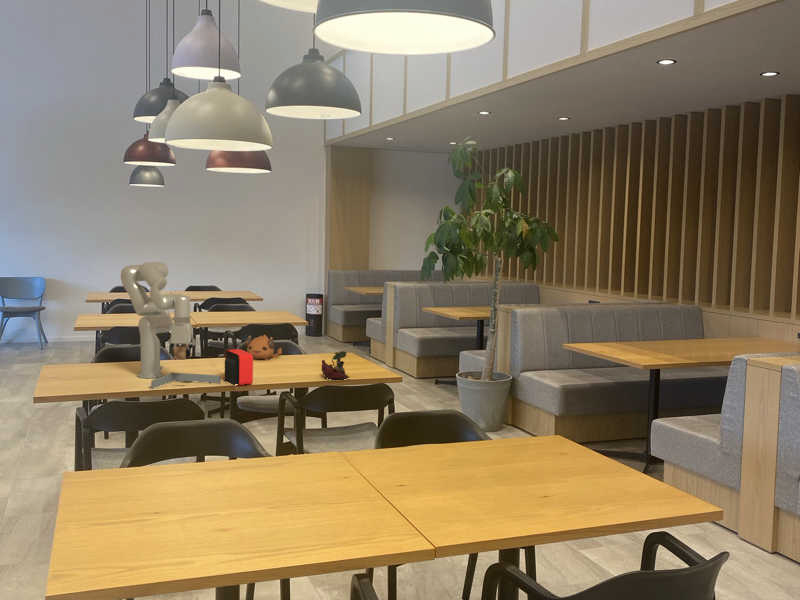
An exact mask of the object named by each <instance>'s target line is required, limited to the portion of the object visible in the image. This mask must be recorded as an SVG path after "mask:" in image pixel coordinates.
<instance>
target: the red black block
mask: <svg viewBox="0 0 800 600" xmlns="http://www.w3.org/2000/svg"><path fill="white" fill-rule="evenodd" d="M224 353H225V354H224V359H225V360H224V382H226V381H227V382H229V383H231V384H233V385H235V384H238V385H237V386H245V384H247V385H252V384H253V383H254V359H253V355H252V354H251V353H248V352H247V351H245V350H243V349H240V348H237V349H226V350H225V352H224ZM227 382H226V383H227ZM229 383H228V384H229ZM231 384H230V385H231ZM233 385H232V386H233Z"/></svg>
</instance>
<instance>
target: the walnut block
mask: <svg viewBox="0 0 800 600" xmlns="http://www.w3.org/2000/svg"><path fill="white" fill-rule="evenodd" d="M186 350H187V348H186V344H179V346H176V347H174V349H173V360H182V361H183V360H187V359H190V358H191V357H192V348H191V349H190V357H188V358H186Z"/></svg>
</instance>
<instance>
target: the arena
mask: <svg viewBox="0 0 800 600" xmlns="http://www.w3.org/2000/svg"><path fill="white" fill-rule="evenodd" d="M221 378H222V377H221V375H220V374H205V373H203V374H201V373H185V372H169V373H167V374H165V375H164V374H163V376H162V377H158V378H153V379H152V380H150V381H151V385H150V386H151V387H150V388H155V387H158V386H160V385H163V384H165V383H168V382H170V383H172V382H171V381H173V380H178V381H177V382H181V381H198V382H212V383H220V382H221V381H222V380H221ZM173 382H174V381H173ZM212 383H211V384H212ZM168 384H169V383H168ZM220 384H221V383H220ZM165 385H166V384H165ZM163 386H164V385H163ZM158 388H159V387H158Z"/></svg>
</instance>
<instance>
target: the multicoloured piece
mask: <svg viewBox="0 0 800 600" xmlns="http://www.w3.org/2000/svg"><path fill="white" fill-rule="evenodd" d="M346 356H347V351H343V350H342V351H339V352H338V351H336V352H334V356H333V357H332V359H331V363H332V364H328V363H326V360H324V359H322V360H321V373H322V374H323V375H324V377H326V378H328V379H331V380H344V379H347V378H349V377H350V376H349V375H347V374H346V370H345V368H344V364H345V361H344V360H342V359H343V358H346ZM334 361H335V362H336V365H335V362H334Z"/></svg>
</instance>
